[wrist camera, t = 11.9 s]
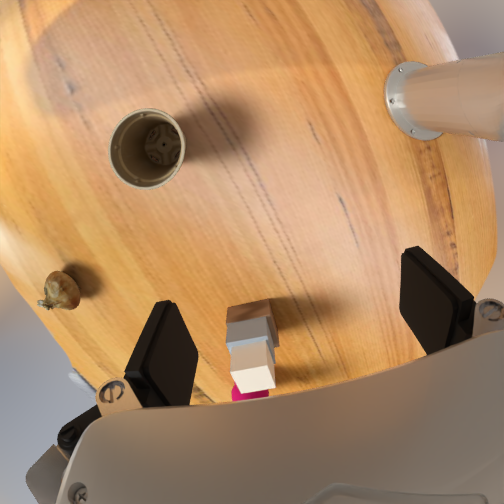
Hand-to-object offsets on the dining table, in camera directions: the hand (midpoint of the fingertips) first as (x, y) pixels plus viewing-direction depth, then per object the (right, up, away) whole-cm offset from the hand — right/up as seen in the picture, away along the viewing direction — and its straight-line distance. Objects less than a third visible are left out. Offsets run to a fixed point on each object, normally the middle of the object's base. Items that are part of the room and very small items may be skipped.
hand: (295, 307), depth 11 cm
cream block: (-1, -13, +29) cm, 32 cm away
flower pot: (-14, +17, +26) cm, 34 cm away
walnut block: (-1, -9, +38) cm, 39 cm away
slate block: (-2, -11, +33) cm, 35 cm away
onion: (-36, -4, +35) cm, 50 cm away
